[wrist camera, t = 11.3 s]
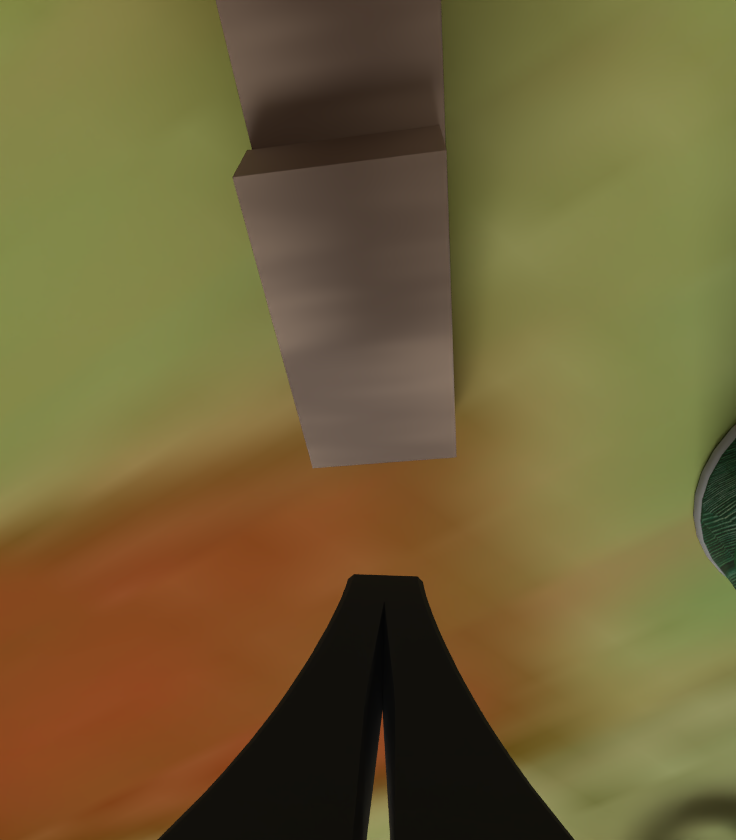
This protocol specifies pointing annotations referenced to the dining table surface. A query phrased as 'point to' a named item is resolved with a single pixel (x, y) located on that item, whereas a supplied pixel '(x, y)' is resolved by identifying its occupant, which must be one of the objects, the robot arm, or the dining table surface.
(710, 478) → the canned tomato
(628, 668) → the dining table surface
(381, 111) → the domino
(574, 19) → the dining table surface
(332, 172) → the domino
